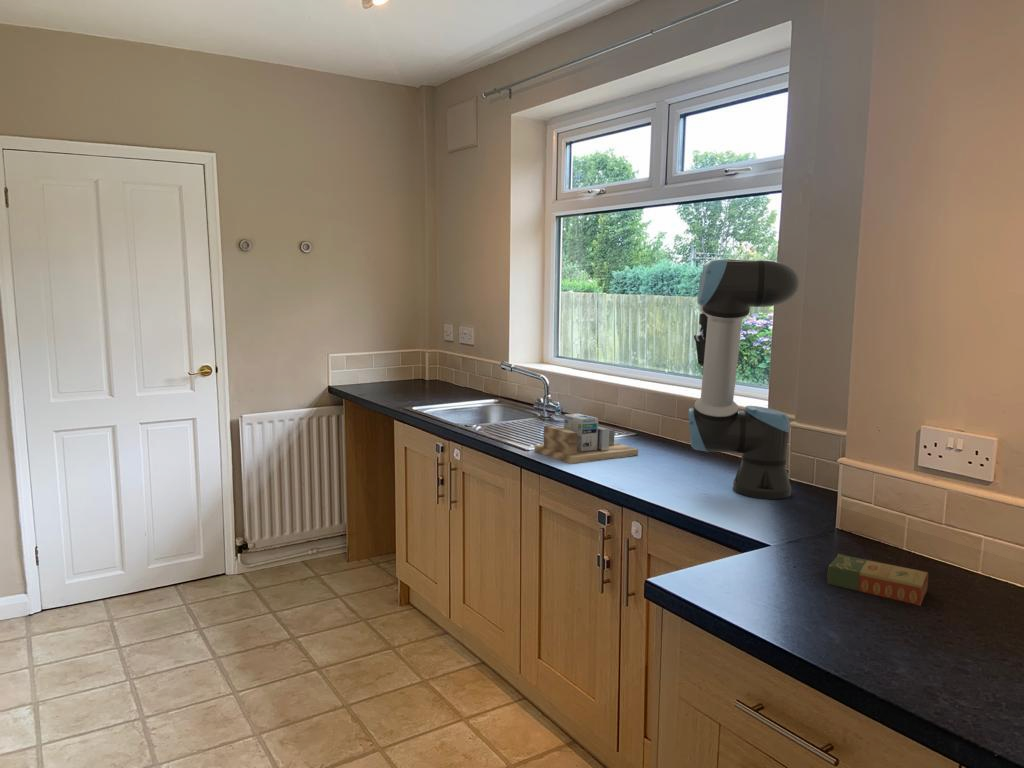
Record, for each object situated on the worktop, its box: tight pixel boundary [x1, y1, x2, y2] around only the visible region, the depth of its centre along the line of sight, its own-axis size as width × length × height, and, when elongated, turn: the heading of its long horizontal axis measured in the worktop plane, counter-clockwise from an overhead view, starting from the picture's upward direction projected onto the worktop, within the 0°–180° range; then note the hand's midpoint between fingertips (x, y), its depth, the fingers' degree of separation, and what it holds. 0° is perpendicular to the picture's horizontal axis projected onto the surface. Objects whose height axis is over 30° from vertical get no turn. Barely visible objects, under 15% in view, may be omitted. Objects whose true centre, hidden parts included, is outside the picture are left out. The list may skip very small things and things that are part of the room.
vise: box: [533, 424, 639, 465], centre depth 247 cm, size 20×28×9 cm
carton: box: [826, 553, 929, 606], centre depth 140 cm, size 8×16×4 cm, turn 54°
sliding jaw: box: [597, 425, 615, 451], centre depth 250 cm, size 14×10×7 cm
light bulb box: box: [563, 413, 599, 452], centre depth 245 cm, size 11×7×11 cm, turn 31°
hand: (707, 386), depth 240 cm, fingers closed
